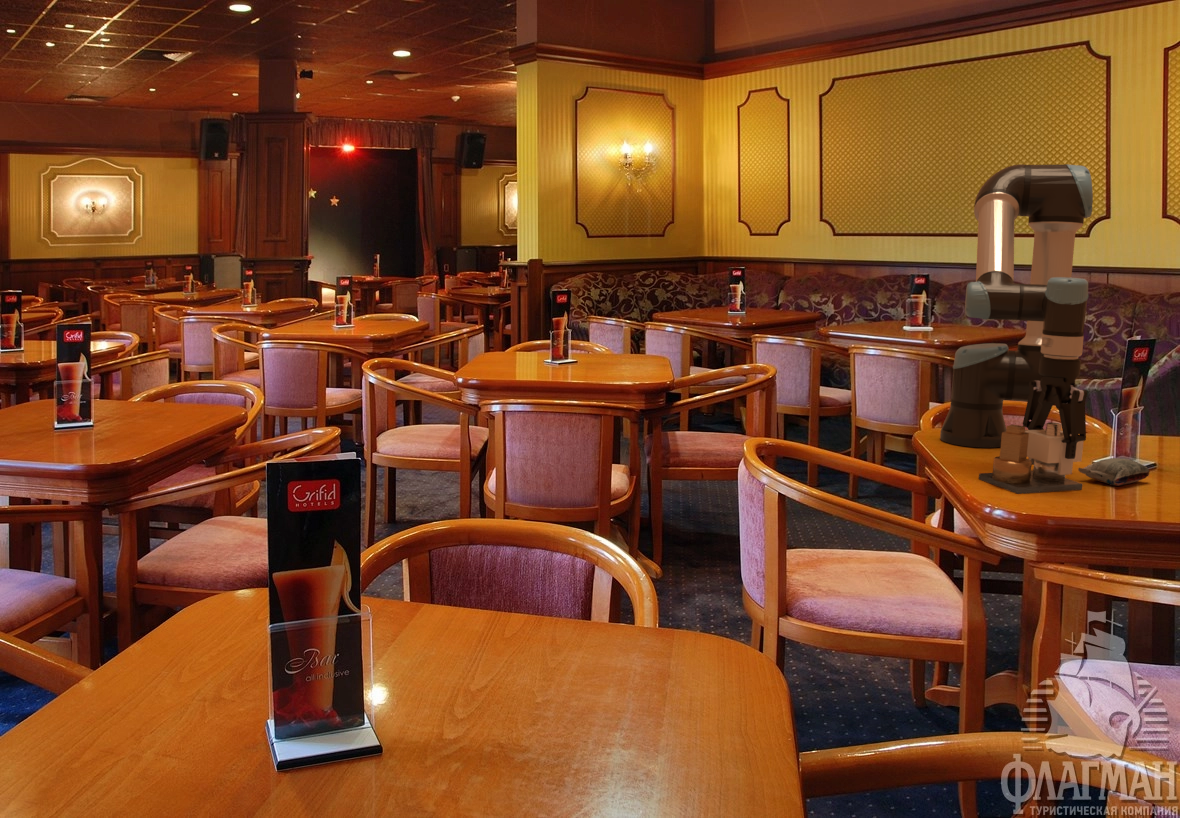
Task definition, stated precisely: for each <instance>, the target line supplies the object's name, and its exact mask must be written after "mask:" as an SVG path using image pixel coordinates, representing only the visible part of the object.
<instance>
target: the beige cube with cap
mask: <svg viewBox="0 0 1180 818" xmlns="http://www.w3.org/2000/svg"><path fill="white" fill-rule="evenodd" d="M1043 429H1044V430H1028V429H1025V432H1026V433H1029V437H1028V447H1027V458H1029V457H1030V458H1033V459H1036V460H1039V461H1042V462H1045V463H1059V457H1060V447H1061V442H1062V441H1061V440H1064V435H1063V430H1061V431H1060V436H1048V435H1046V428H1043ZM1070 436H1071V434H1070ZM1084 442H1085V441H1079V442H1077V445H1076V453H1075V458H1074V459H1073V463H1077V462H1079V463H1080V462H1083V461H1082V460H1083V459H1082V458H1083V451H1084Z"/></svg>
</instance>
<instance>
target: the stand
mask: <svg viewBox="0 0 1180 818" xmlns="http://www.w3.org/2000/svg"><path fill="white" fill-rule="evenodd" d="M1045 429H1046V435H1048V436H1060V431H1062V425H1061V423H1058V422H1046V428H1045ZM1058 466H1059V463H1045V462H1042V461H1039V460H1036V459H1034V465H1033V469H1032V470H1033V477H1035V478H1037V479H1041V480H1047V481H1063V480H1065V478H1066V475H1059V474H1058Z"/></svg>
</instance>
